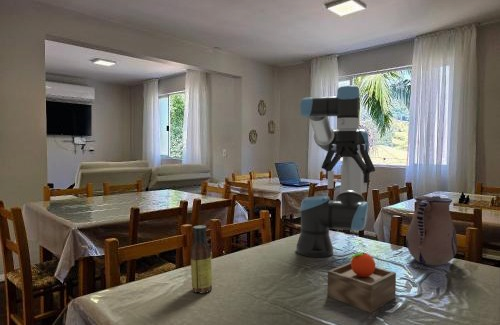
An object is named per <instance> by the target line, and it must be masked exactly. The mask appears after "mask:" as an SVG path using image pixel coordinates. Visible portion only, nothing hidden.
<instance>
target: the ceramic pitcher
mask: <svg viewBox="0 0 500 325" xmlns="http://www.w3.org/2000/svg"><path fill="white" fill-rule="evenodd" d="M413 198H414V200H415V202H416V208H415V211H414V214H413V216H412V219H411V221H410V224H409V225H408V226H409V227H408V230H407V233H406V237H405V242H406V247H407V249H408V252H409V254H410V255H411V256H412V258H414V259H415V261H416V262H418V263H419V264H424V265H425V266H426V265H427V266H443V265H445V264H448V263H450V262H451V261H452V260H453V259H454V258H455V257H456V254H457V252H458V247H459V246H458V237H457V232H456V228H455V225H454V221H453V219H452V214H451V211H450V205H451V204H452V202H453V200H452V199H451V198H447V197H442V196H435V195H432V196H427V195H415V196H413Z"/></svg>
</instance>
